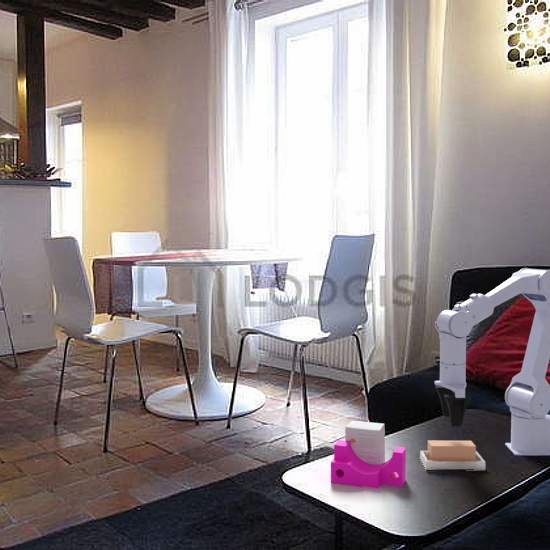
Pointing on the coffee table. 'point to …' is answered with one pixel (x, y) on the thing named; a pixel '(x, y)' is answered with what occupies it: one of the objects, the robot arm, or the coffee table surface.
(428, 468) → the gray rectangular tray
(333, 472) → the toy block
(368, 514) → the coffee table surface
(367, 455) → the small box
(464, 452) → the peach rectangular prism
